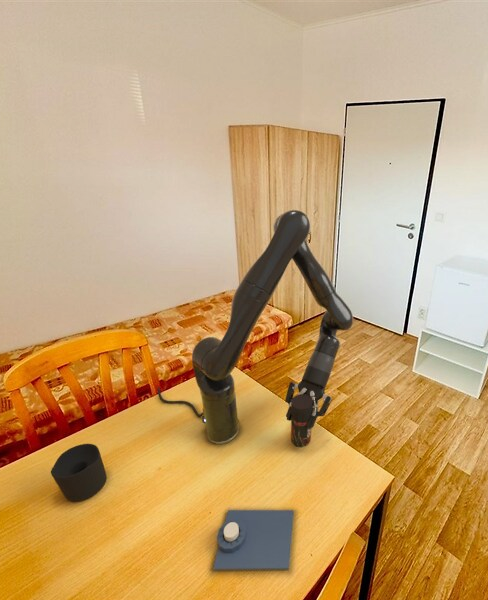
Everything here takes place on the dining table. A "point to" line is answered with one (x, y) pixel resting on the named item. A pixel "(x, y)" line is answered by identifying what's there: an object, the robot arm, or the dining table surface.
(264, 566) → the scale
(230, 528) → the button
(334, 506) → the dining table surface
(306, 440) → the deodorant
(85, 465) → the pen holder
